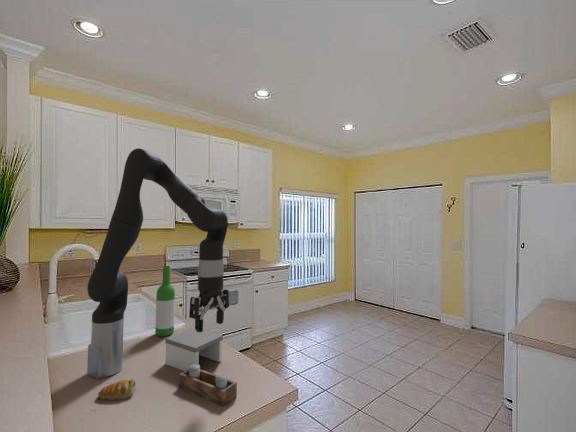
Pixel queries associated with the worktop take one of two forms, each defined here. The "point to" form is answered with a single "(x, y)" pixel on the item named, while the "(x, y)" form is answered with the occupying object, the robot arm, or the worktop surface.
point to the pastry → (118, 390)
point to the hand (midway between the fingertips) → (210, 327)
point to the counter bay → (190, 356)
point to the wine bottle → (165, 306)
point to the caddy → (208, 385)
